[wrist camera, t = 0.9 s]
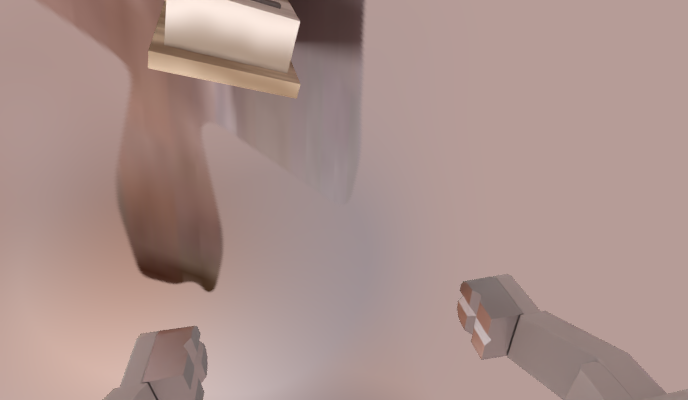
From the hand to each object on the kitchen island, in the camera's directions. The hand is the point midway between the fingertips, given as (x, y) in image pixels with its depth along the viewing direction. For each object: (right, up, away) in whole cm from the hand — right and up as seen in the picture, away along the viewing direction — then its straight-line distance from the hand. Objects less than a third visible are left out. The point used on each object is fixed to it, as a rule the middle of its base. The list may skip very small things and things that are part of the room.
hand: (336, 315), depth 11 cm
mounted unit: (-14, +28, +33) cm, 45 cm away
